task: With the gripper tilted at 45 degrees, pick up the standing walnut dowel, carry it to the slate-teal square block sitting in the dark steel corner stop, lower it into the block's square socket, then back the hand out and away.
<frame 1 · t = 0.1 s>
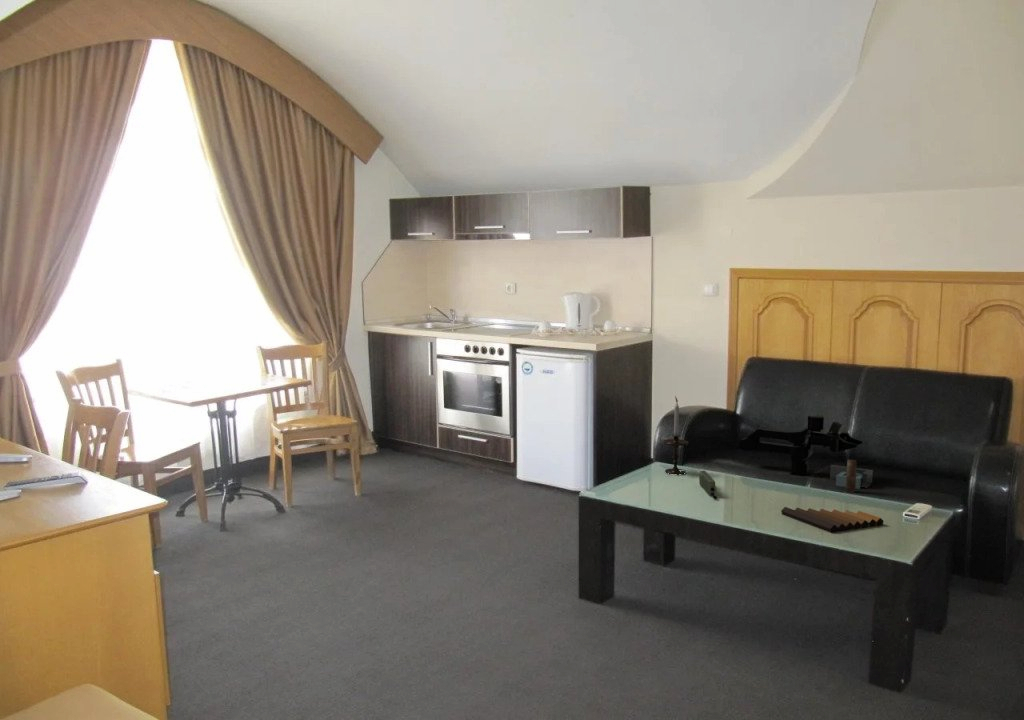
hand: (859, 444, 373), 17 cm above the table, tool horizontal, fingers open, 9 cm apart
dowel: (850, 491, 359), on the table
pan flute: (831, 521, 318), on the table
corner stop: (850, 484, 370), on the table
handheld radio: (708, 493, 356), on the table
candlestick: (675, 473, 391), on the table
socket block: (850, 485, 370), on the table
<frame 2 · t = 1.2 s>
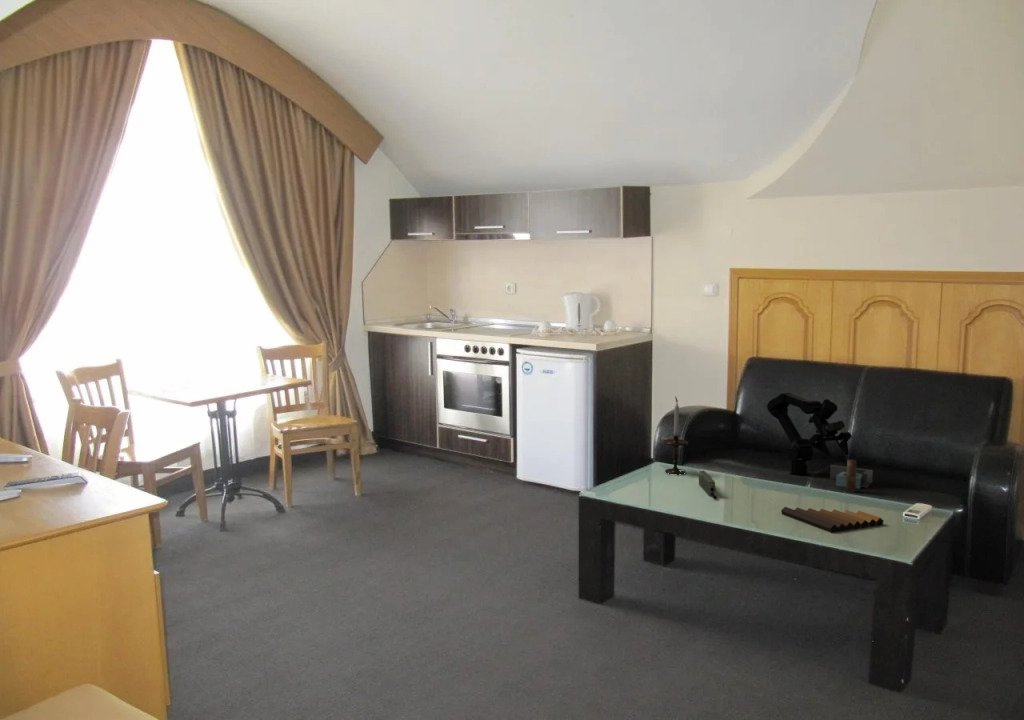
hand: (839, 455, 365), 13 cm above the table, tool tilted 45°, fingers open, 9 cm apart
nothing on the table moved.
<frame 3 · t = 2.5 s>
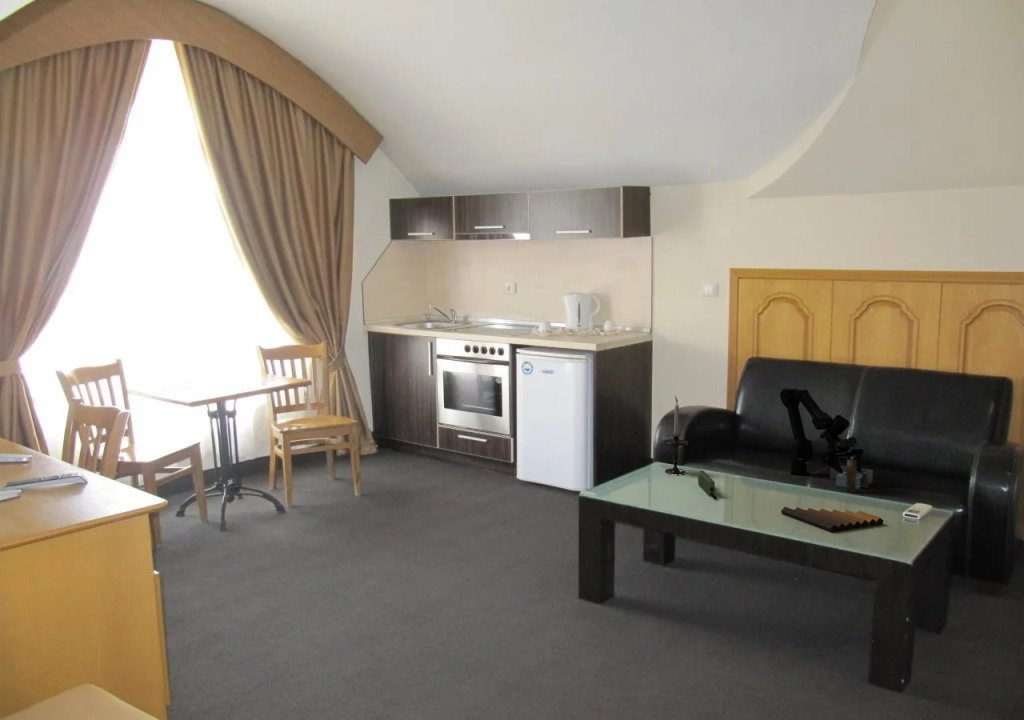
hand: (851, 472, 358), 8 cm above the table, tool tilted 45°, fingers open, 9 cm apart
nothing on the table moved.
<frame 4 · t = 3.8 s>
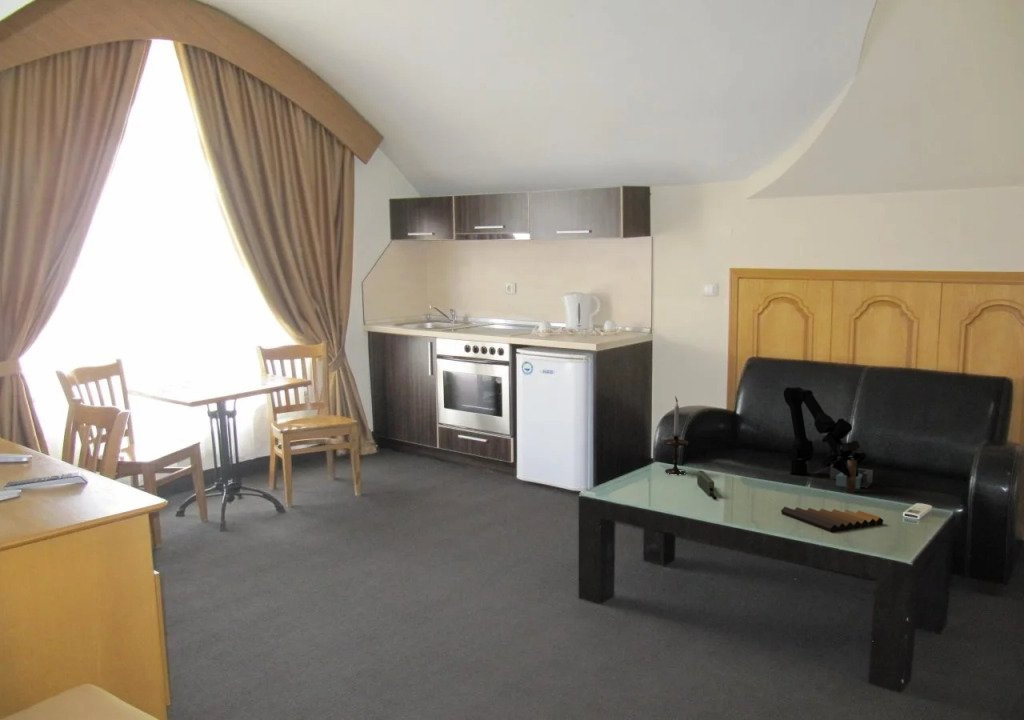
hand: (853, 476, 357), 7 cm above the table, tool tilted 45°, fingers closed on dowel, 4 cm apart
dowel: (850, 491, 359), on the table, touching gripper
everything else where it was.
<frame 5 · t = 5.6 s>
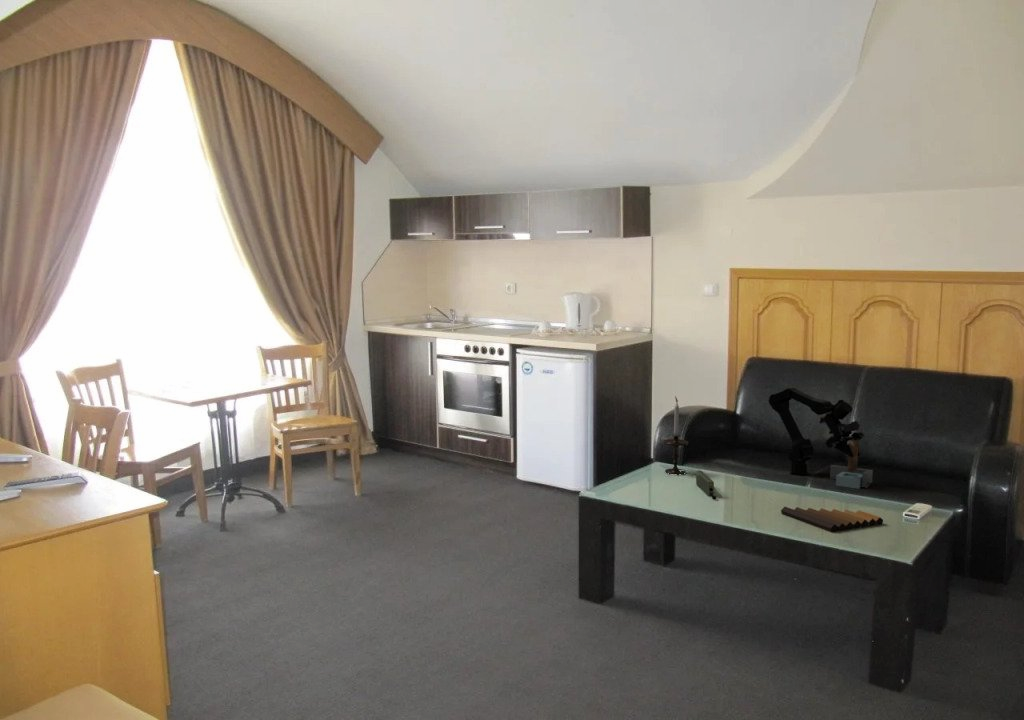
hand: (855, 456, 363), 13 cm above the table, tool tilted 45°, fingers closed on dowel, 4 cm apart
dowel: (852, 471, 365), point 7 cm above the table, touching gripper
everything else where it was.
when the fingers open (8 cm above the table, at t = 7.5 s): dowel drops 1 cm, resting on socket block.
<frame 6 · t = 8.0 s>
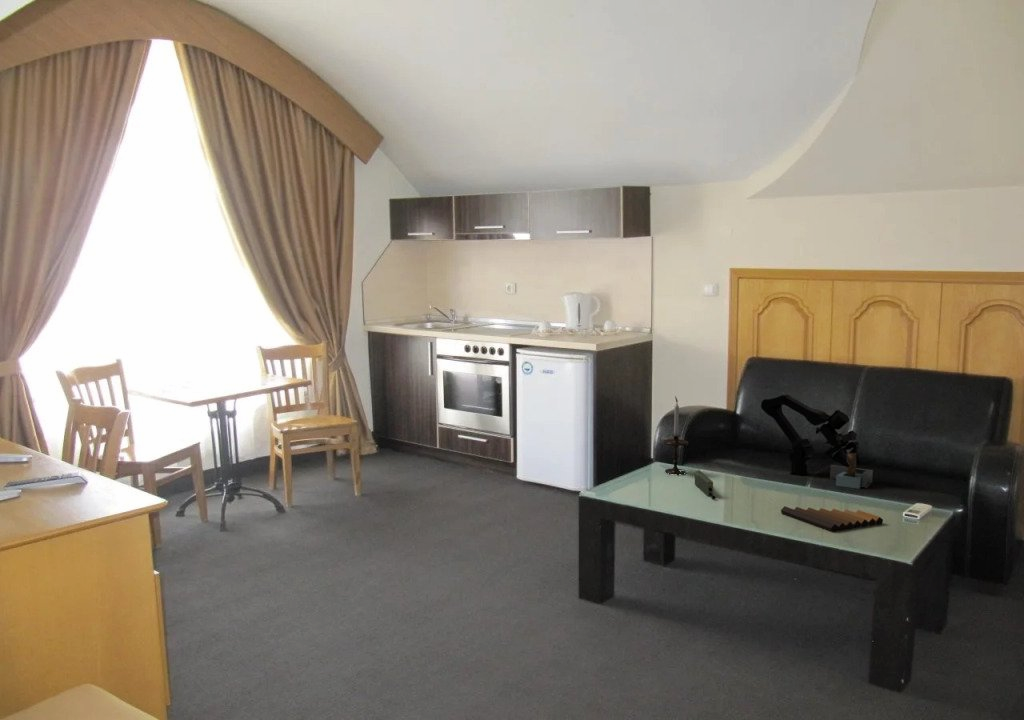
hand: (854, 465, 368), 9 cm above the table, tool tilted 45°, fingers open, 9 cm apart
dowel: (850, 483, 370), point 1 cm above the table, touching socket block
socket block: (850, 485, 370), on the table, touching dowel
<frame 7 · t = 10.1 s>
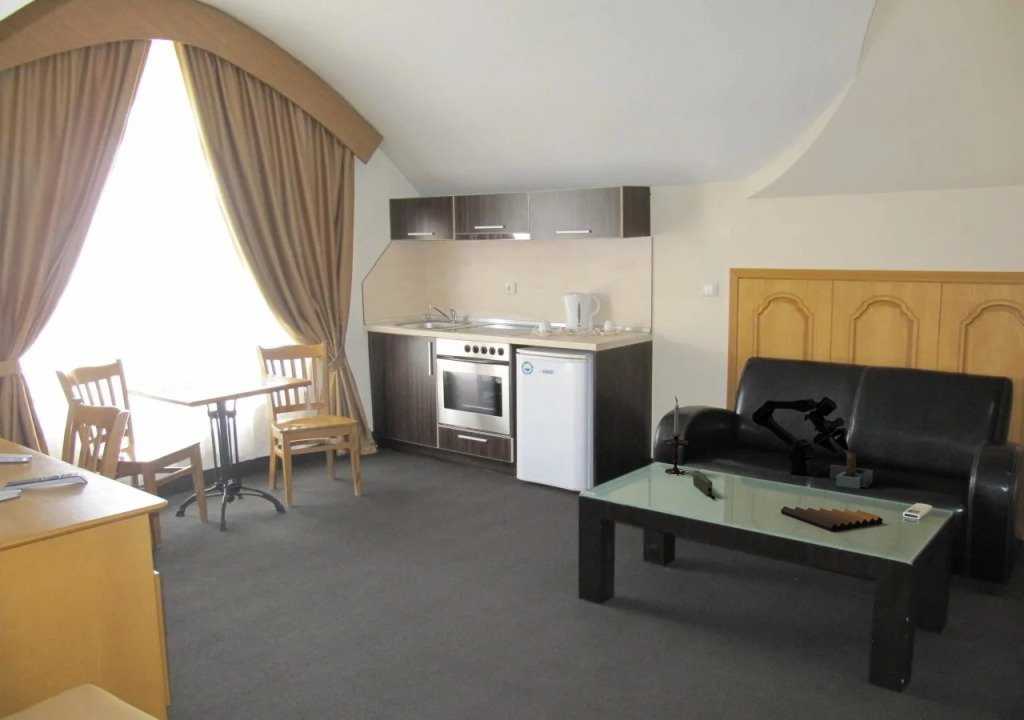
hand: (842, 451, 372), 14 cm above the table, tool tilted 45°, fingers open, 9 cm apart
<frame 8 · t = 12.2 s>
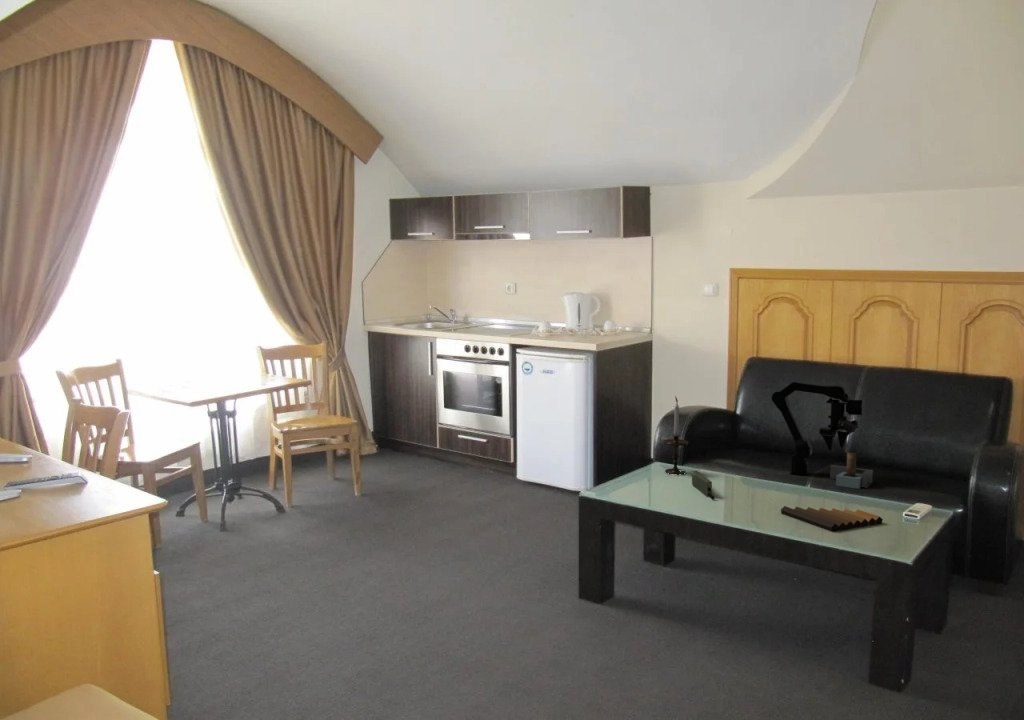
hand: (836, 448, 381), 13 cm above the table, tool pointing down, fingers open, 9 cm apart
at the end: dowel 0.0 cm off-centre on the socket block, point 1.0 cm above the socket block's base; dowel tilted 0°; socket block moved 0.5 cm from its start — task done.
